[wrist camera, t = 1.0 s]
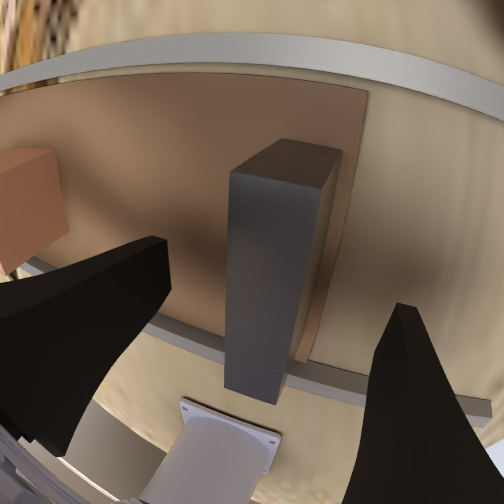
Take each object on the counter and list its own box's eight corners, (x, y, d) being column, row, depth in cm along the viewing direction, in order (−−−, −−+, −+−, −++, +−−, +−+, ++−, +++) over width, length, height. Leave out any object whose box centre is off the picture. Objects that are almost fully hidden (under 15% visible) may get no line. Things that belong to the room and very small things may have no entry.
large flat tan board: (309, 356, 15) (281, 432, 12) (16, 241, 22) (-23, 269, 18) (368, 91, 9) (362, 96, 5) (-10, 99, 15) (-61, 118, 12)
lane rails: (481, 410, 13) (482, 427, 12) (16, 252, 23) (6, 259, 22) (619, 161, 5) (635, 170, 4) (-15, 83, 15) (-28, 87, 14)
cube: (69, 231, 17) (5, 276, 13) (27, 216, 18) (-27, 251, 14) (55, 149, 14) (-23, 185, 10) (14, 146, 15) (-49, 176, 11)
